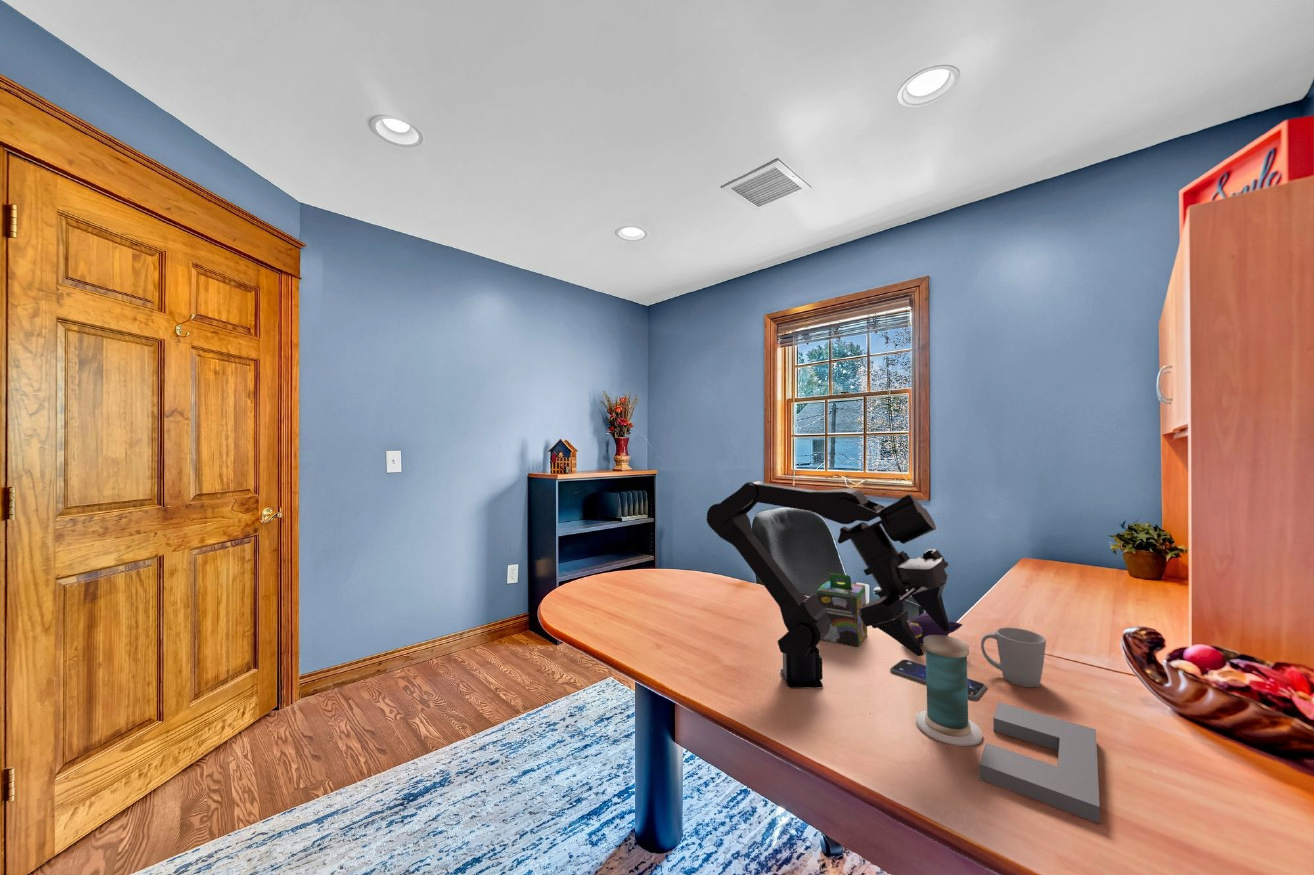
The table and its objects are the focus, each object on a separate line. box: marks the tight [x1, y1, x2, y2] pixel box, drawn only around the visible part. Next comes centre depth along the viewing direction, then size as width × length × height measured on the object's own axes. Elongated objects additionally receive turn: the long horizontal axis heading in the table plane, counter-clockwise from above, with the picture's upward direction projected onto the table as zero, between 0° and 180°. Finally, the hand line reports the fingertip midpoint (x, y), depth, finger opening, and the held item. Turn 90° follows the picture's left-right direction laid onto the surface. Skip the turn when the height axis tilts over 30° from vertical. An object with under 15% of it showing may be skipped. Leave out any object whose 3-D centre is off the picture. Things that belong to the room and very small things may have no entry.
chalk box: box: [815, 572, 868, 648], centre depth 113 cm, size 9×9×15 cm
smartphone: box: [889, 659, 988, 701], centre depth 92 cm, size 7×1×15 cm
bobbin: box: [923, 635, 971, 737], centre depth 77 cm, size 6×6×13 cm
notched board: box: [978, 701, 1101, 824], centre depth 69 cm, size 12×20×2 cm, turn 139°
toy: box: [908, 611, 963, 645], centre depth 108 cm, size 11×12×7 cm
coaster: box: [915, 709, 983, 747], centre depth 77 cm, size 9×9×1 cm
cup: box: [980, 627, 1047, 688], centre depth 92 cm, size 8×10×8 cm
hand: (934, 642), depth 80 cm, fingers open, 9 cm apart
